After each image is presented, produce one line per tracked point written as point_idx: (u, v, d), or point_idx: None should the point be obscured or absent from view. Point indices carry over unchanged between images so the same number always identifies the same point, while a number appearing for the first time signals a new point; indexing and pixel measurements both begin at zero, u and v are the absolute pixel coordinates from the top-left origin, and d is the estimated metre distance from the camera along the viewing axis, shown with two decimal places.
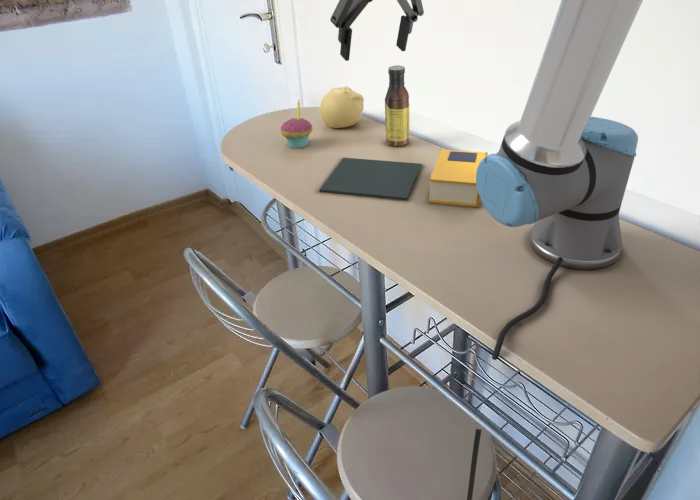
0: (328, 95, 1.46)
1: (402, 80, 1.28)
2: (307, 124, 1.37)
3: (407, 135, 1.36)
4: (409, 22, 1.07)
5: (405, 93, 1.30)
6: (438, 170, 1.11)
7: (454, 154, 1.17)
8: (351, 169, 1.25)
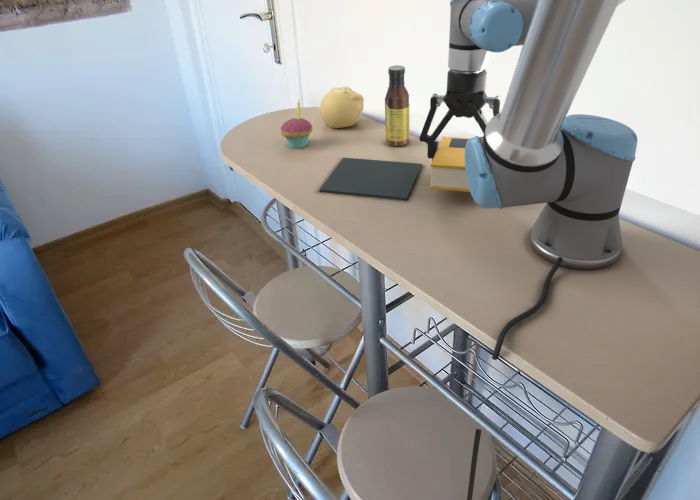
0: (328, 95, 1.46)
1: (402, 80, 1.28)
2: (307, 124, 1.37)
3: (407, 135, 1.36)
4: None
5: (405, 93, 1.30)
6: (439, 156, 1.09)
7: (455, 141, 1.15)
8: (351, 169, 1.25)
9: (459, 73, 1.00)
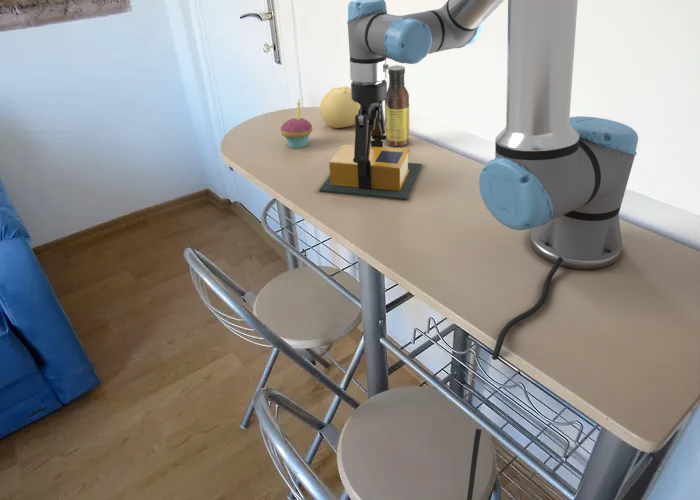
0: (328, 95, 1.46)
1: (402, 80, 1.28)
2: (307, 124, 1.37)
3: (407, 135, 1.36)
4: None
5: (405, 93, 1.30)
6: None
7: (394, 153, 1.18)
8: None
9: None
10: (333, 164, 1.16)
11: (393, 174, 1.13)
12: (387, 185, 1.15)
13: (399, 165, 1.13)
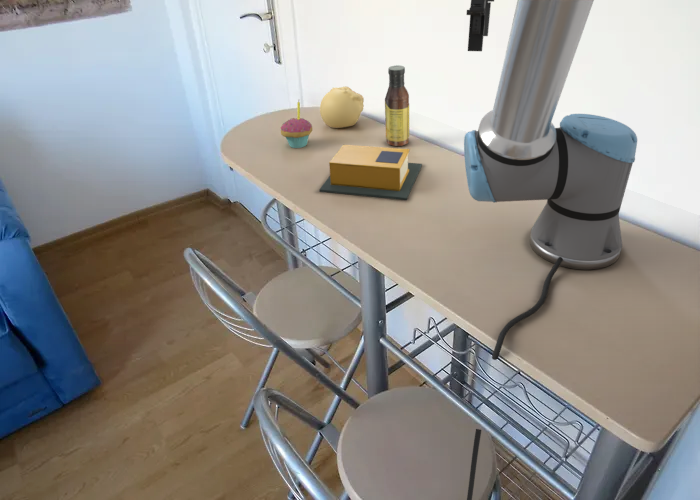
0: (328, 95, 1.46)
1: (402, 80, 1.28)
2: (307, 124, 1.37)
3: (407, 135, 1.36)
4: None
5: (405, 93, 1.30)
6: (360, 147, 1.22)
7: (394, 153, 1.18)
8: None
9: None
10: (333, 164, 1.16)
11: (393, 174, 1.13)
12: (387, 185, 1.15)
13: (399, 165, 1.13)
